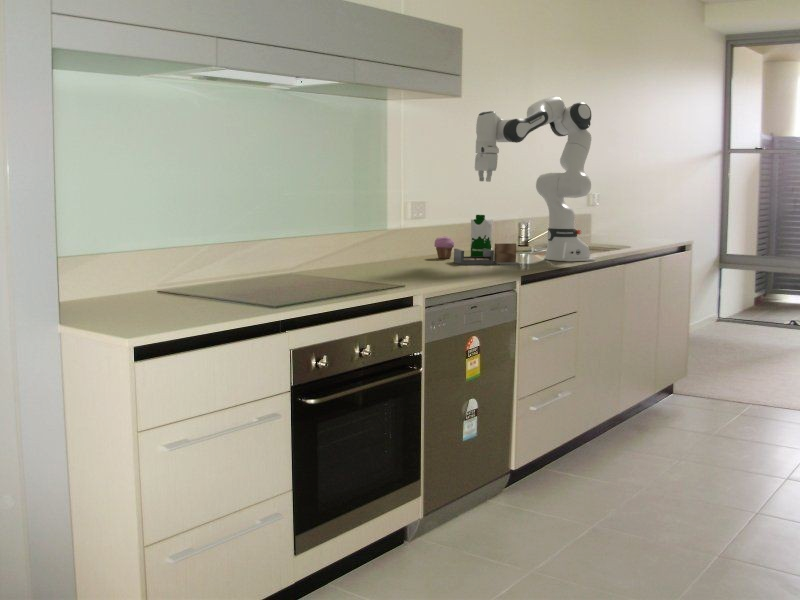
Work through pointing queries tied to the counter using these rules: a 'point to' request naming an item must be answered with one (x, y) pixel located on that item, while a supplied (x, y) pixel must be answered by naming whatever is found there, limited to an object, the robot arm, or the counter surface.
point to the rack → (486, 255)
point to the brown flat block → (505, 252)
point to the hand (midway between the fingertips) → (484, 181)
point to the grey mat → (506, 263)
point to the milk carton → (480, 235)
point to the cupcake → (444, 247)
